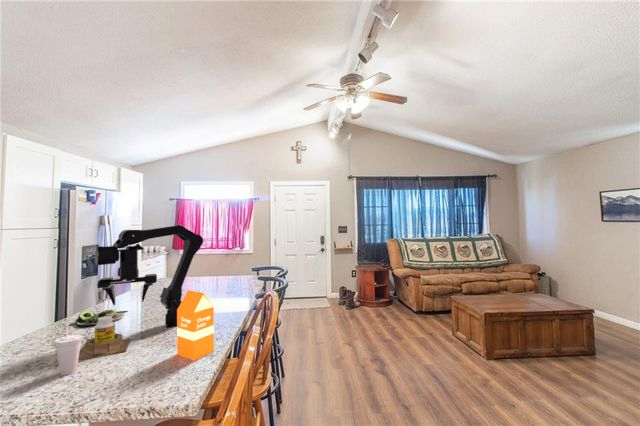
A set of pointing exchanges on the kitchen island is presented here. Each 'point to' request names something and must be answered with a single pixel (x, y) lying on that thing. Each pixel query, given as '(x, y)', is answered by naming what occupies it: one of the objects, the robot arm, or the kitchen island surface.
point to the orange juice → (195, 326)
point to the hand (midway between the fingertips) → (128, 303)
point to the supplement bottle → (104, 330)
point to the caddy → (103, 347)
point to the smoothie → (68, 352)
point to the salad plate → (96, 317)
